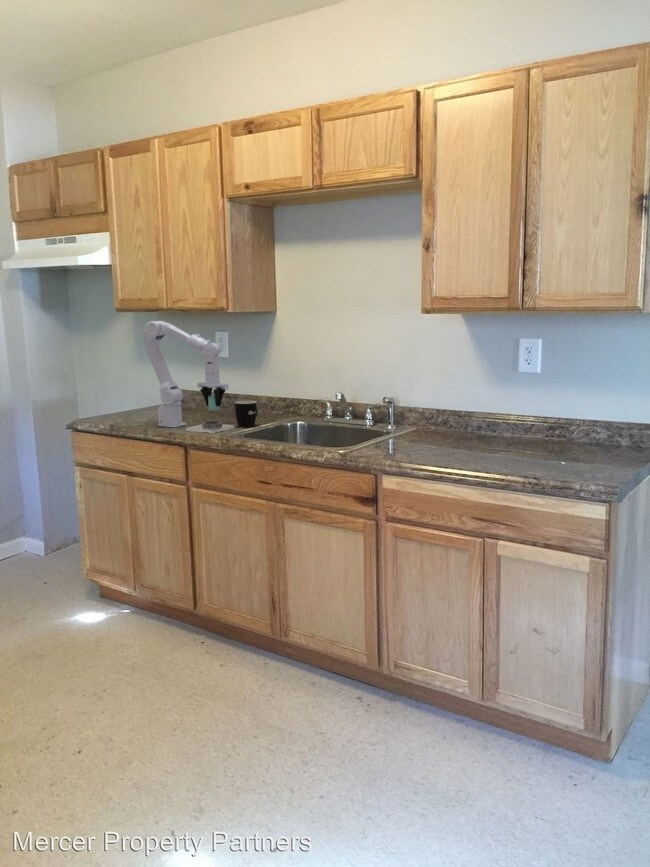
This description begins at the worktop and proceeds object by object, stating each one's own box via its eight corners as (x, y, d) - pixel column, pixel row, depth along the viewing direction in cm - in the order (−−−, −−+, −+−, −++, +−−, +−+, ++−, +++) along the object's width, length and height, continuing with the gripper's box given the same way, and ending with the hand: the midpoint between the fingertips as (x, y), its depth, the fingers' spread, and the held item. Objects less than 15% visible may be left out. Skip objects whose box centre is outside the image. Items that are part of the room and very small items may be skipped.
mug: (248, 428, 295) (247, 404, 293) (231, 426, 300) (230, 402, 298) (265, 424, 305) (265, 400, 303) (248, 422, 310) (247, 399, 308)
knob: (206, 410, 298) (205, 395, 297) (213, 409, 302) (213, 394, 300) (214, 411, 295) (213, 395, 294) (221, 409, 299) (221, 394, 298)
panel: (186, 430, 291) (185, 424, 291) (208, 425, 303) (208, 419, 303) (213, 433, 284) (213, 426, 284) (234, 428, 296) (234, 421, 296)
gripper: (192, 372, 296) (193, 405, 298) (220, 374, 289) (221, 407, 291) (202, 371, 302) (204, 403, 304) (231, 372, 295) (232, 405, 297)
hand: (213, 405), depth 298 cm, fingers closed on knob, 4 cm apart
